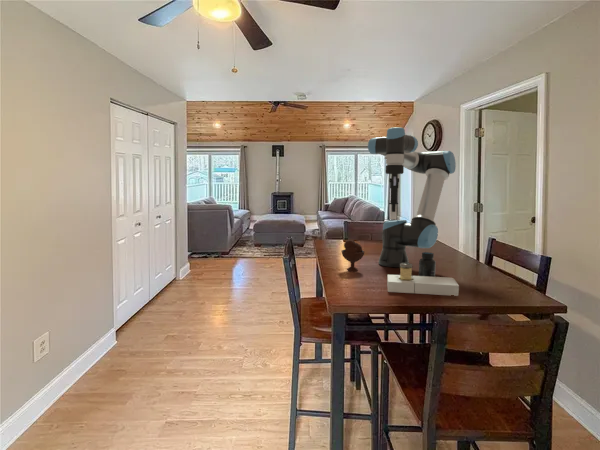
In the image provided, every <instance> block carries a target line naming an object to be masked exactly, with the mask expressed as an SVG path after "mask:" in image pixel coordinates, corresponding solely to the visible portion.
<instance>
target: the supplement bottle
mask: <svg viewBox="0 0 600 450" xmlns="http://www.w3.org/2000/svg"><path fill="white" fill-rule="evenodd" d="M434 255H435V254H434V253H433V252H427V251H425V252H422V253H421V258H420V259H419V261H418V276H428V277H436V266H437V265H436V263H437V262H436V260H435V259H434Z"/></svg>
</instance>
